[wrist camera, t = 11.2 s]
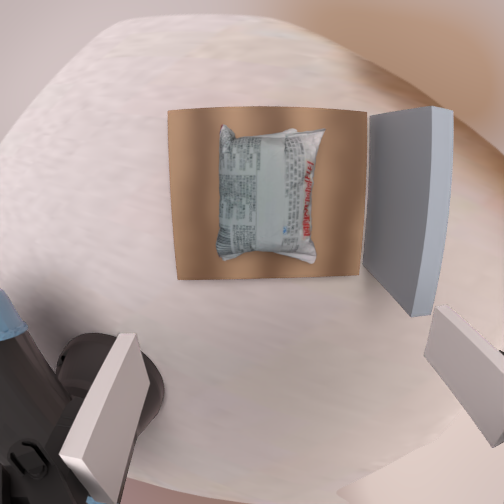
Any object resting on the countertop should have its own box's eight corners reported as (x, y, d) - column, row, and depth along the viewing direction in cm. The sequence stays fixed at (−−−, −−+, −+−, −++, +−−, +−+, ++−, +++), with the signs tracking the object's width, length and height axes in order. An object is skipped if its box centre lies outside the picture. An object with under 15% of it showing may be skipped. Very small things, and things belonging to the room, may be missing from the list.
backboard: (362, 264, 34) (410, 317, 23) (369, 115, 29) (431, 105, 18) (378, 263, 35) (430, 314, 23) (386, 117, 29) (453, 110, 18)
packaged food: (319, 130, 27) (333, 128, 22) (310, 257, 31) (321, 277, 26) (220, 126, 27) (215, 122, 22) (218, 254, 31) (213, 274, 26)
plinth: (182, 268, 34) (177, 279, 31) (174, 113, 29) (167, 110, 26) (350, 264, 34) (358, 275, 32) (356, 114, 29) (366, 112, 27)
